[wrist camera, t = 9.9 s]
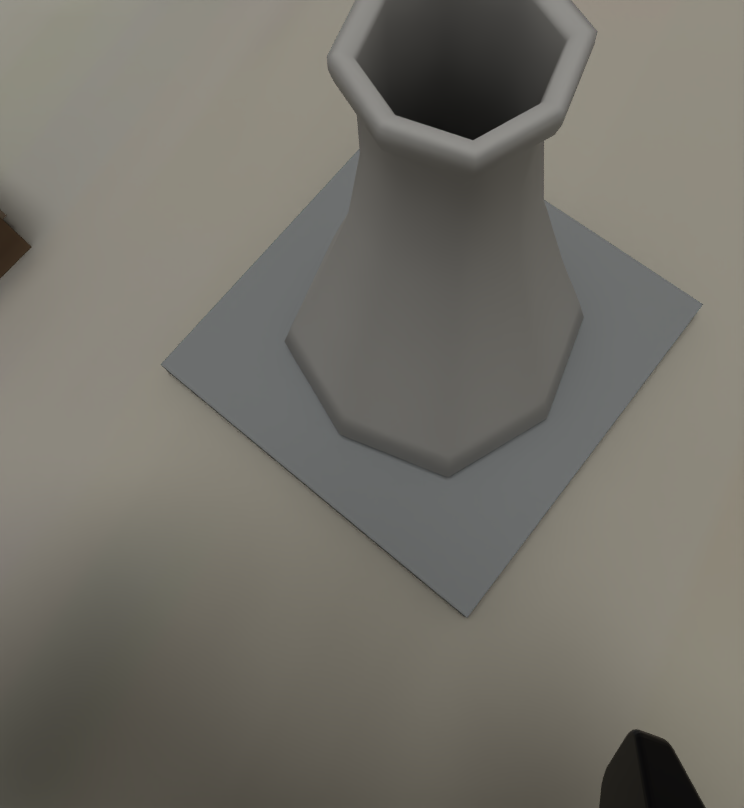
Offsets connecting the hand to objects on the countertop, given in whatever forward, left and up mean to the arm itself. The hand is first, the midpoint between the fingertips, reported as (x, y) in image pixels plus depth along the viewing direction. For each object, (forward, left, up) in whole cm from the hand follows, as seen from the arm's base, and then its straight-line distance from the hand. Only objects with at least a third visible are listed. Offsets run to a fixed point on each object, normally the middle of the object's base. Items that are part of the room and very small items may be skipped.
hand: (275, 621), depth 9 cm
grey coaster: (+3, -7, -9) cm, 11 cm away
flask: (+3, -7, -8) cm, 11 cm away
